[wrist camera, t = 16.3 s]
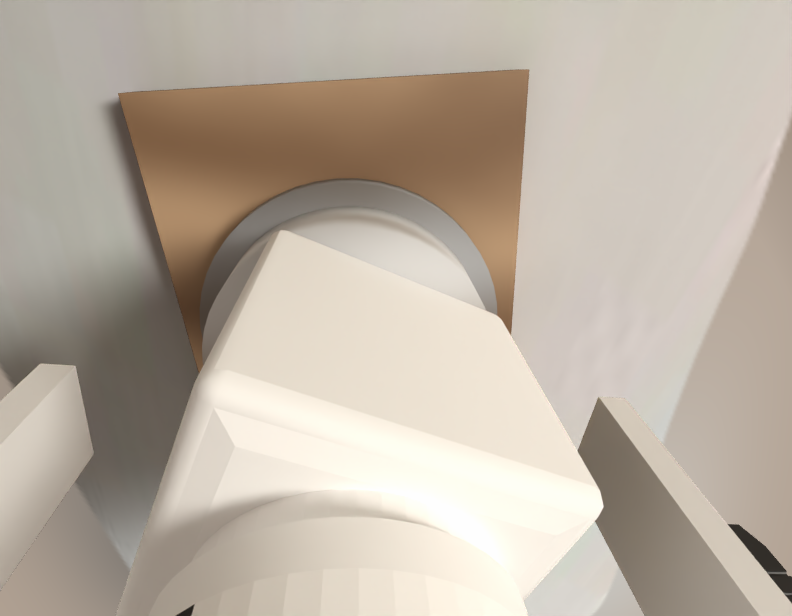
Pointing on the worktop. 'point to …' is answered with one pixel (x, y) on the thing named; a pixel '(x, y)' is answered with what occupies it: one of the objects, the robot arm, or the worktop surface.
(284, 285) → the medicine bottle
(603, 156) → the worktop surface
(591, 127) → the worktop surface
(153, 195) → the stub board
